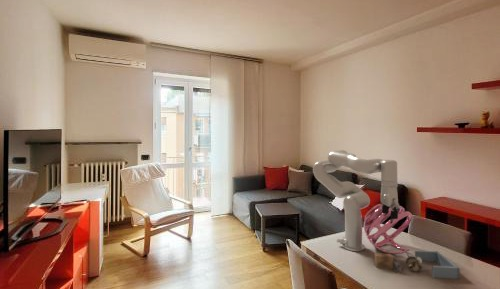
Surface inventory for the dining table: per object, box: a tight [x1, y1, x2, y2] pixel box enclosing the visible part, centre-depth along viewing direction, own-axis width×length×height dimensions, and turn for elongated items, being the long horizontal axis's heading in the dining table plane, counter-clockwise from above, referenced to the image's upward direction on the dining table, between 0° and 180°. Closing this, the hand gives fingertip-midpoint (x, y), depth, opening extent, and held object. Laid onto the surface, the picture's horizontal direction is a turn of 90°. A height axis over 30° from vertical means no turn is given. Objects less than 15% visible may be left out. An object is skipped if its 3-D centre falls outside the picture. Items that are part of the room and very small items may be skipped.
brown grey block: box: [373, 252, 402, 274], centre depth 134 cm, size 10×11×6 cm
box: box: [414, 250, 461, 280], centre depth 131 cm, size 11×17×5 cm, turn 173°
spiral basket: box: [363, 203, 414, 255], centre depth 152 cm, size 28×28×27 cm
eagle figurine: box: [405, 254, 423, 274], centre depth 132 cm, size 8×7×9 cm
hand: (389, 215), depth 139 cm, fingers open, 9 cm apart
